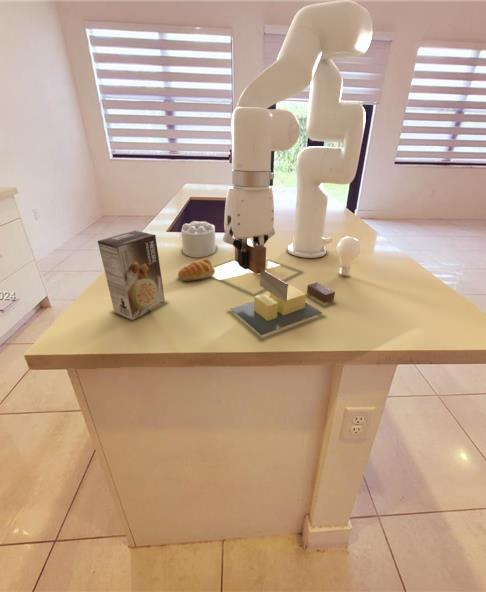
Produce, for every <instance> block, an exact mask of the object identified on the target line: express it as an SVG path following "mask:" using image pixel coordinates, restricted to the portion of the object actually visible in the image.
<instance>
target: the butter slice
mask: <svg viewBox="0 0 486 592" xmlns="http://www.w3.org/2000/svg"><path fill="white" fill-rule="evenodd" d="M253 298H254V299H253V300H254V311H256V312H257V313H258V314H259V315H261V316H262V317H263V318H264V319H266V320H267V321H269V320H272V319H274V318H277V312H278V303H277V302H276V301H274V300H273V299H271V298H270V295H267V294H266V293H261V294H257V295H254V296H253Z"/></svg>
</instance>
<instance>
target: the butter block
mask: <svg viewBox="0 0 486 592" xmlns="http://www.w3.org/2000/svg"><path fill="white" fill-rule="evenodd" d="M269 297H270V298H271V299H273V300H274V301H276V302H277V303H278V312H279V313H281V314H282V315H286V314H289V313H292V312H295V311H298V310H300V309H303V308H305V302H306V301H307V293H305V292H303V291H302V290H300V289H298V288H297V287H296V286H293V285H288V290H287V302H284V301H282V300H281V299H279V298H278V297H276V296H275V295H273V294H272V293H270V292H269Z"/></svg>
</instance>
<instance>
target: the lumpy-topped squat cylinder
mask: <svg viewBox="0 0 486 592" xmlns="http://www.w3.org/2000/svg"><path fill="white" fill-rule="evenodd" d="M181 242H182V252H183V254H185V255H186V256H188V257H190V258H205V257H207V256H210V255H213V254H214V253H215V252H216V246H217V245H216V226H215V225H214V224H213V223H209V222H207V221H195V220H193V221H191V222H189V223H184V224H183V225H182V226H181Z"/></svg>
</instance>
